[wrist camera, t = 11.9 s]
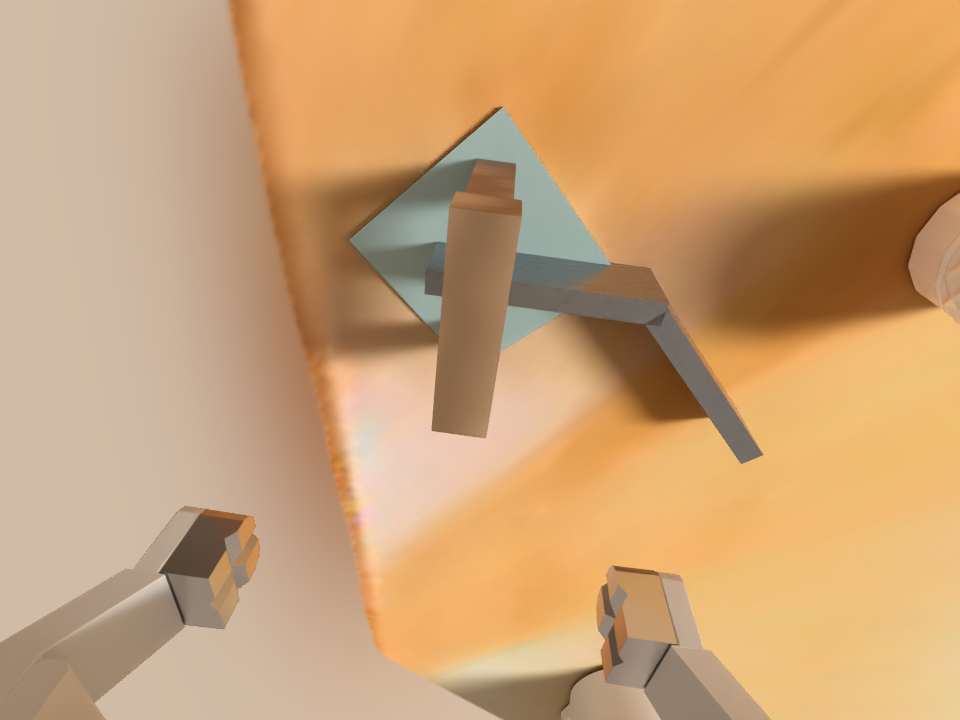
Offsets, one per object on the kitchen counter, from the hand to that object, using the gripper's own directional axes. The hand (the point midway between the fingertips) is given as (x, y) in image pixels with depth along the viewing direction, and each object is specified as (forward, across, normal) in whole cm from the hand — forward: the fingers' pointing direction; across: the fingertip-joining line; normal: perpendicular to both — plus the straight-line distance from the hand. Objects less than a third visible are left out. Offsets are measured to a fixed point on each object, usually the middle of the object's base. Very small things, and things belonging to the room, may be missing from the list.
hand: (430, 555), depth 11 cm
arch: (+17, 0, +1) cm, 17 cm away
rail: (+18, +7, -3) cm, 19 cm away
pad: (+18, 0, +1) cm, 18 cm away
